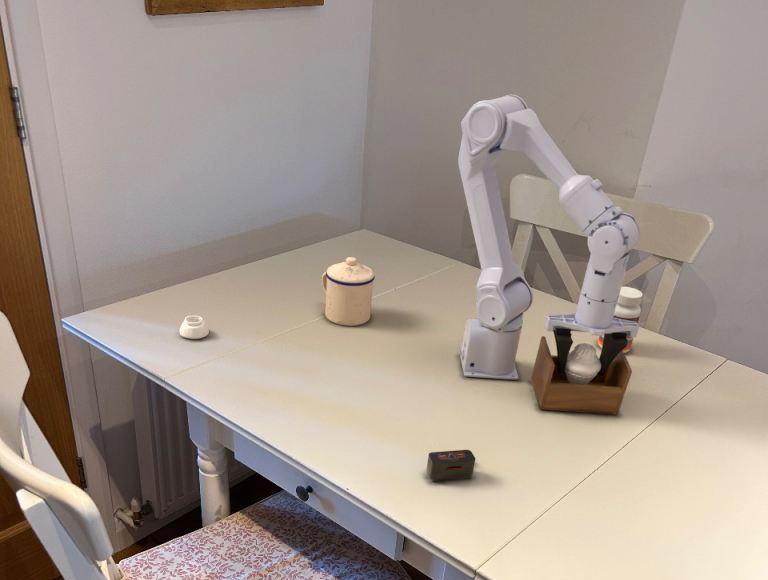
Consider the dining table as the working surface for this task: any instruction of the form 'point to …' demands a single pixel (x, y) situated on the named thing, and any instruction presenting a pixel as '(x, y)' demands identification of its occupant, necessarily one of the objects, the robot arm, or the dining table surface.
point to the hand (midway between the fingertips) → (579, 371)
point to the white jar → (193, 328)
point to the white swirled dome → (582, 364)
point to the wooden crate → (579, 386)
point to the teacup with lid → (348, 292)
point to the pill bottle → (627, 310)
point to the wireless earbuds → (450, 465)
